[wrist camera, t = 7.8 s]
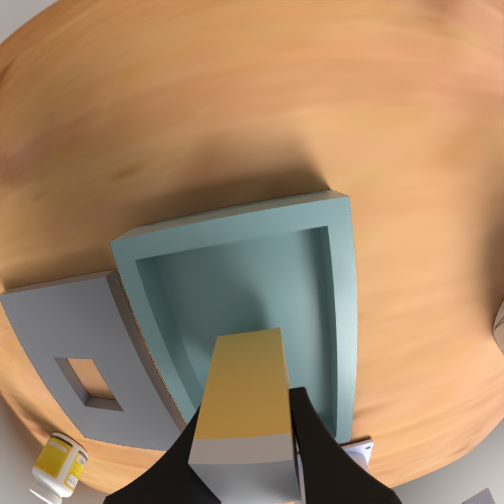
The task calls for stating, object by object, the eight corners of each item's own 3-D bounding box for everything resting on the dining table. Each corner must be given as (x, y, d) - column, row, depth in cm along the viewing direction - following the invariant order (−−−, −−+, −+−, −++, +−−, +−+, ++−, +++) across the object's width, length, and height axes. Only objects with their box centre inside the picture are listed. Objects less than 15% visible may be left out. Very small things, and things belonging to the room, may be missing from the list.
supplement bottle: (47, 432, 22) (18, 482, 13) (62, 429, 21) (30, 487, 12) (78, 457, 23) (54, 508, 14) (96, 456, 22) (71, 515, 13)
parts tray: (342, 413, 17) (350, 441, 15) (212, 429, 18) (207, 456, 16) (331, 189, 13) (349, 196, 10) (135, 227, 14) (109, 241, 11)
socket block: (196, 441, 19) (194, 452, 18) (89, 429, 20) (85, 437, 19) (115, 268, 14) (105, 276, 13) (7, 289, 15) (-2, 295, 14)
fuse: (290, 386, 14) (301, 500, 7) (235, 392, 14) (224, 504, 7) (280, 327, 13) (292, 459, 6) (217, 336, 13) (188, 463, 6)
